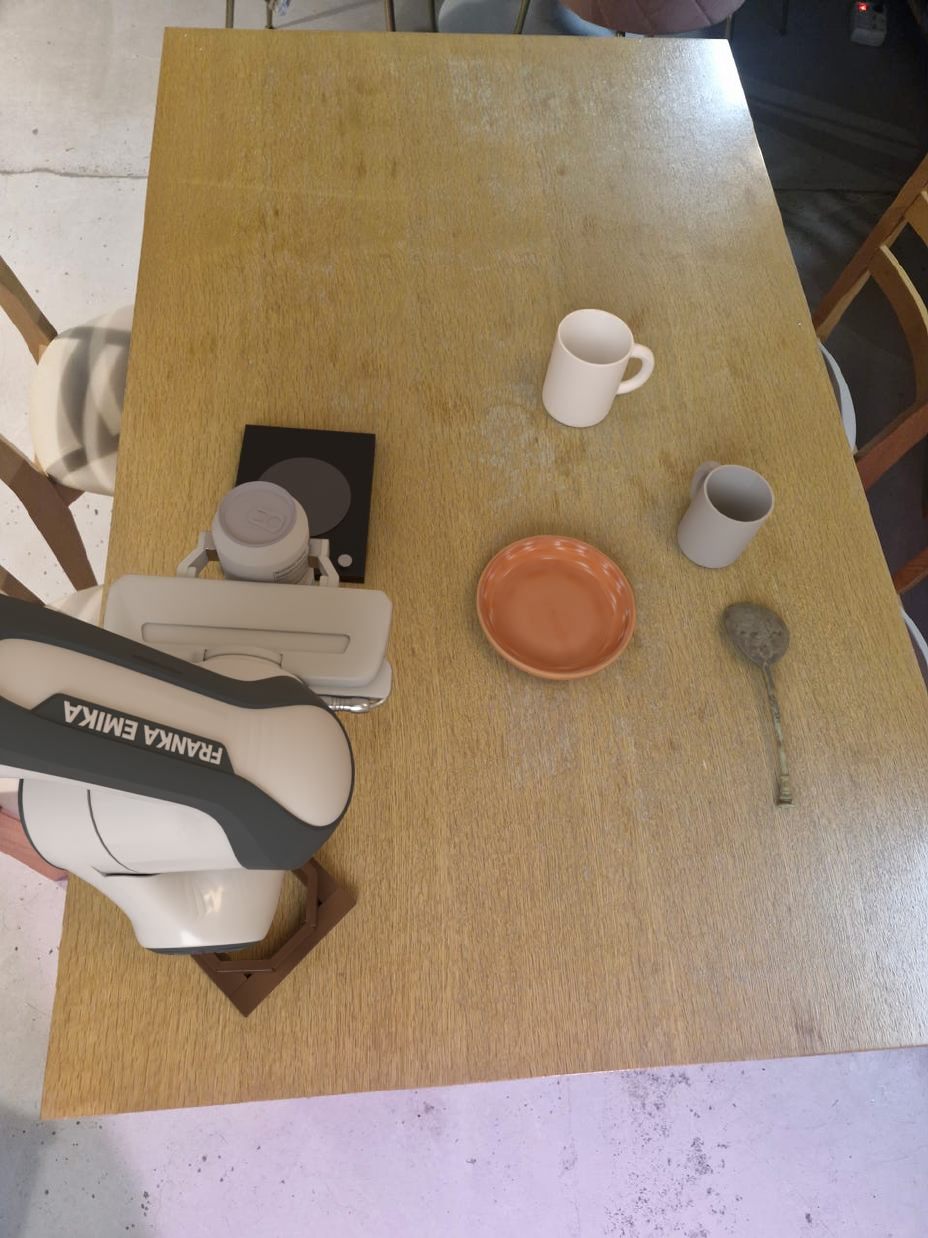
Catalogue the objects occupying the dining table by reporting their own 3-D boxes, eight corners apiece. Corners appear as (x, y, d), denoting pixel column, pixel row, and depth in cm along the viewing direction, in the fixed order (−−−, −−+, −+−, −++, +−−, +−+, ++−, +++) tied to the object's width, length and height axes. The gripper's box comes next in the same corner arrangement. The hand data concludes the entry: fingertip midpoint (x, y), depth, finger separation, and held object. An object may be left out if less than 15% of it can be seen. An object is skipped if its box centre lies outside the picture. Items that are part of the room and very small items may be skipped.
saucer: (444, 586, 87) (446, 571, 84) (572, 526, 91) (578, 510, 89) (528, 716, 81) (533, 705, 78) (659, 645, 86) (668, 632, 83)
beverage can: (256, 547, 73) (236, 460, 62) (329, 576, 73) (322, 493, 62) (216, 612, 70) (189, 532, 59) (293, 643, 69) (279, 567, 59)
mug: (633, 374, 102) (658, 308, 93) (646, 428, 99) (675, 365, 90) (535, 375, 101) (552, 308, 92) (546, 431, 97) (564, 366, 88)
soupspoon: (775, 607, 90) (714, 606, 90) (787, 591, 87) (724, 589, 87) (816, 811, 79) (747, 810, 79) (832, 801, 76) (760, 799, 76)
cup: (690, 576, 90) (721, 530, 82) (655, 500, 94) (681, 449, 86) (751, 563, 91) (786, 516, 84) (713, 488, 96) (744, 437, 88)
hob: (364, 583, 86) (364, 573, 84) (223, 575, 85) (220, 564, 83) (375, 442, 94) (375, 429, 92) (247, 432, 93) (244, 420, 91)
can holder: (246, 1018, 67) (241, 1016, 64) (149, 908, 70) (140, 902, 67) (356, 903, 72) (356, 897, 69) (261, 805, 75) (257, 796, 72)
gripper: (391, 698, 57) (402, 525, 63) (77, 680, 55) (120, 505, 62) (389, 730, 63) (399, 568, 69) (103, 715, 61) (141, 551, 67)
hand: (265, 538), depth 65 cm, fingers closed on beverage can, 7 cm apart
